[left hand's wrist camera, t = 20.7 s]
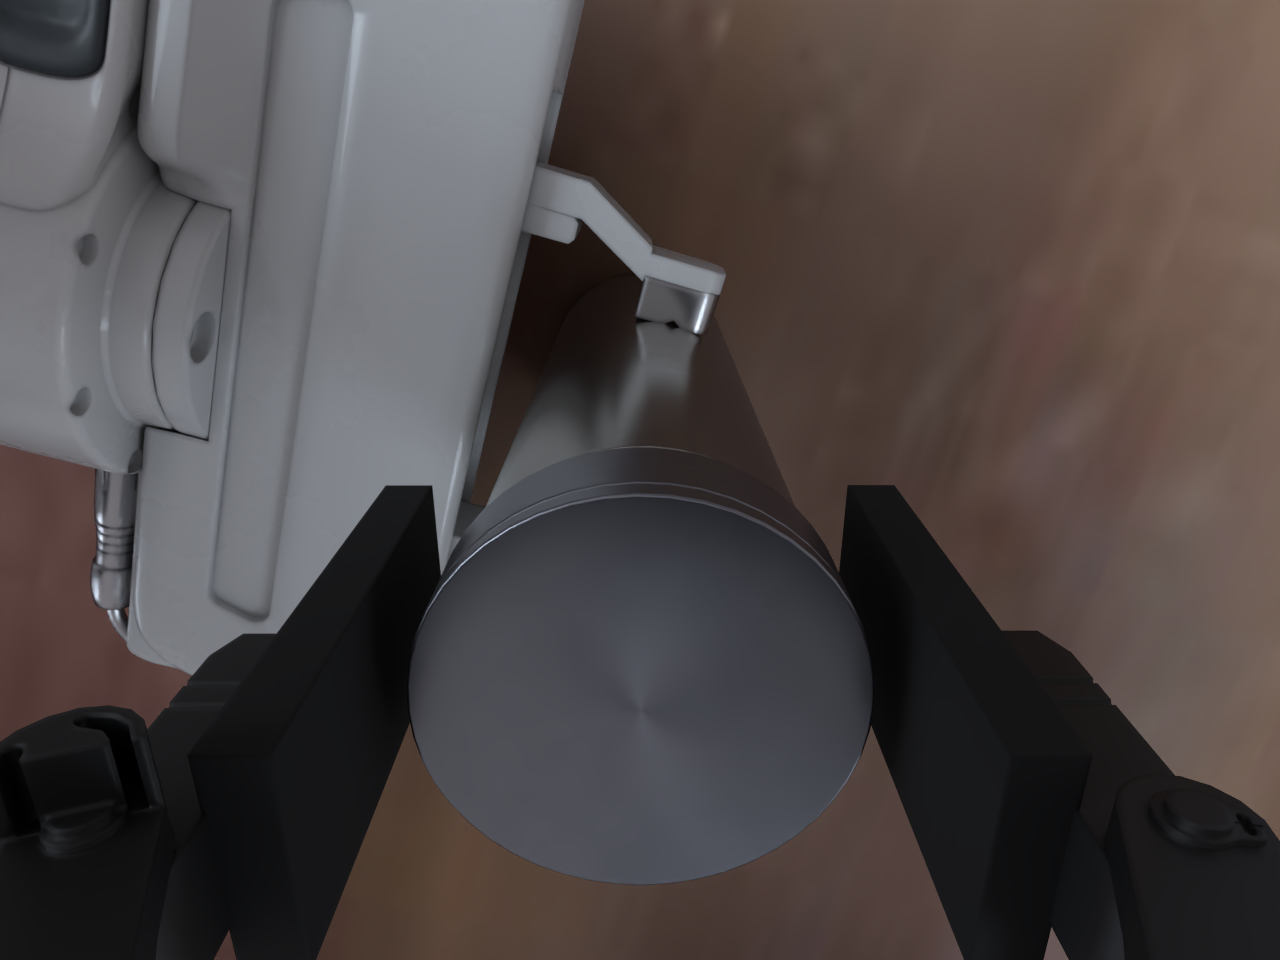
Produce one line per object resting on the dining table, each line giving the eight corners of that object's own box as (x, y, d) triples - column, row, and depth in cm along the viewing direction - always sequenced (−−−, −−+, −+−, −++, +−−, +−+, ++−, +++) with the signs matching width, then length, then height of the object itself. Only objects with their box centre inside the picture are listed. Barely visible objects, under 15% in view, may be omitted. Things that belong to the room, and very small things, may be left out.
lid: (913, 697, 12) (951, 774, 11) (577, 855, 13) (570, 944, 12) (720, 364, 11) (734, 400, 9) (349, 576, 12) (307, 640, 10)
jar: (537, 293, 27) (379, 529, 10) (707, 256, 26) (818, 444, 10) (577, 452, 29) (496, 859, 12) (736, 421, 28) (867, 799, 12)
